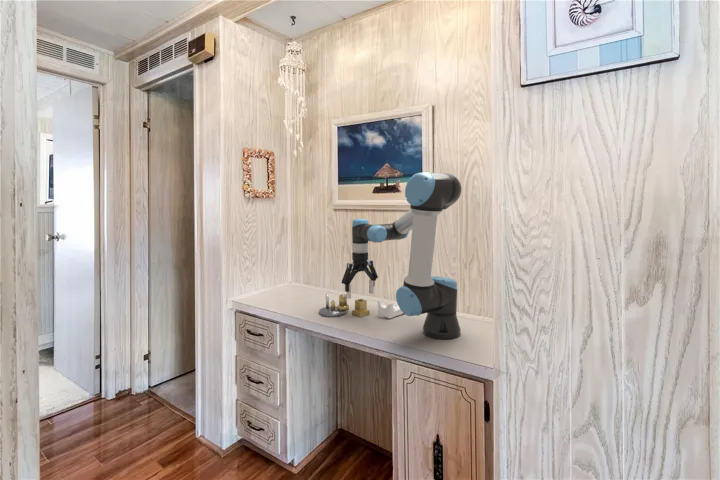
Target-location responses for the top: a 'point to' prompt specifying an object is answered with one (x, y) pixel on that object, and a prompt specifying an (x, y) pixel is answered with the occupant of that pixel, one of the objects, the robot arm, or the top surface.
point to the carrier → (335, 307)
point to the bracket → (388, 310)
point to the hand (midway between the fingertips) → (360, 295)
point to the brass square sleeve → (360, 308)
